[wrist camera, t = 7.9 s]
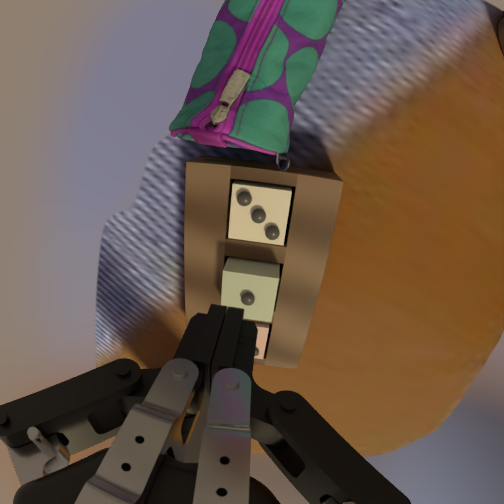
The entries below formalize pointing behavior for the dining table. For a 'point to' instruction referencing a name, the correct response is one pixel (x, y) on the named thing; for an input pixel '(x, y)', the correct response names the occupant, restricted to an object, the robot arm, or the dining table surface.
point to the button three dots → (259, 211)
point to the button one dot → (250, 287)
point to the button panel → (260, 244)
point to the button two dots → (261, 339)
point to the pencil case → (255, 74)
